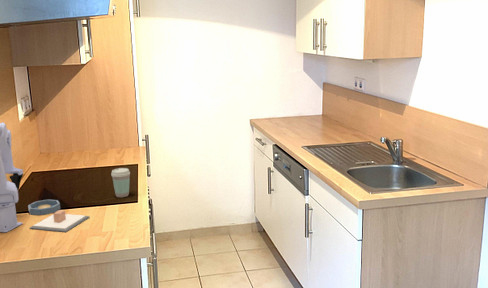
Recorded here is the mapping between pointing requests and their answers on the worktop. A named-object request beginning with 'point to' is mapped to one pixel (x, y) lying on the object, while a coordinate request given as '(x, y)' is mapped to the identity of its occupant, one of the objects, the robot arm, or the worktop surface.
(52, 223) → the lid
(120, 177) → the coffee cup
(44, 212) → the dish
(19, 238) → the worktop surface
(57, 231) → the mat
